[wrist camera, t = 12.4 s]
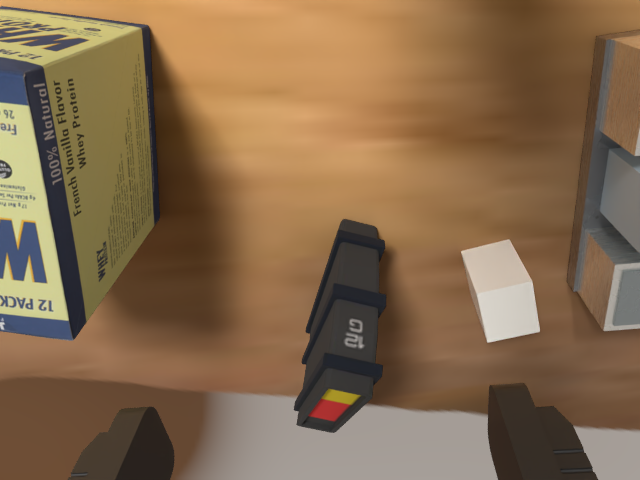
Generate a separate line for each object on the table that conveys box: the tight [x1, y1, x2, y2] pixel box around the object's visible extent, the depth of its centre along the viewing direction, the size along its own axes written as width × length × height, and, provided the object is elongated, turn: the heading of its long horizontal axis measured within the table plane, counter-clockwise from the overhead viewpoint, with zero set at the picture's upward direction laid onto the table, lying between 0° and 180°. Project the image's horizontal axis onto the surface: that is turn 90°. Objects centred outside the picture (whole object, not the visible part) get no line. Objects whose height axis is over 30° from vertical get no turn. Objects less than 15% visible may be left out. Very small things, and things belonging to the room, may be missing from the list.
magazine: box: [294, 219, 386, 433], centre depth 39 cm, size 4×13×15 cm, turn 166°
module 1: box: [461, 239, 540, 343], centre depth 40 cm, size 5×4×6 cm
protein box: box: [0, 6, 160, 341], centre depth 31 cm, size 10×16×16 cm
